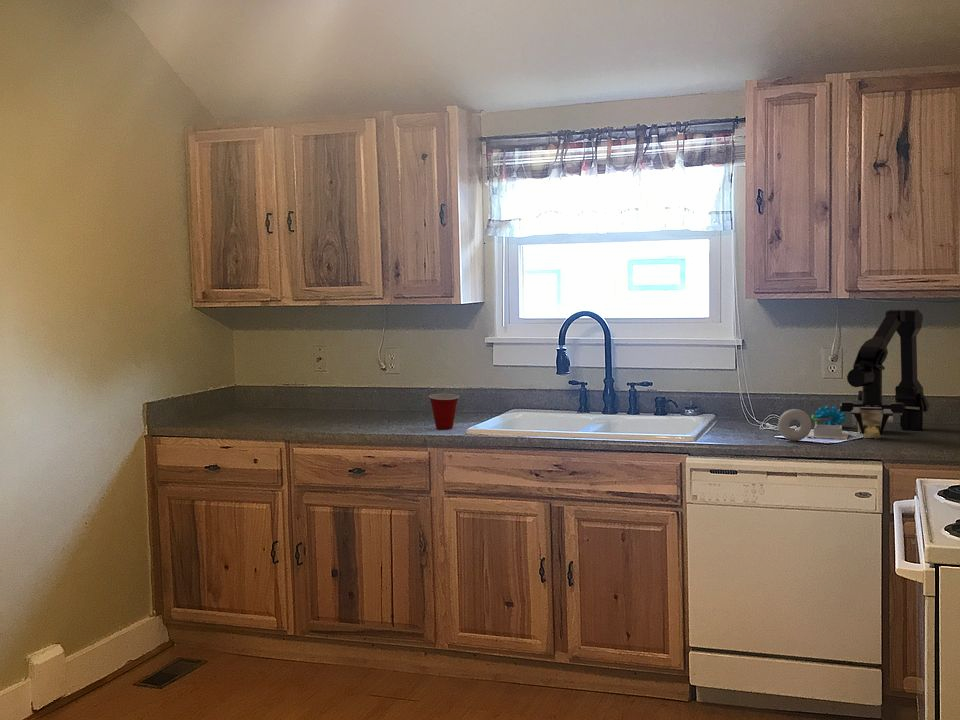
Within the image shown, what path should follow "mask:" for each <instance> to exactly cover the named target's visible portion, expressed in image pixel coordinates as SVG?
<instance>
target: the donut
mask: <svg viewBox="0 0 960 720" xmlns="http://www.w3.org/2000/svg"><path fill="white" fill-rule="evenodd" d="M794 420H795V421H797V422H798V423H800V424H799V428H798V429H792V428H791V426H790V423H791V422H792V421H794ZM812 427H813V426H812V418H810V416H809V414H808V413H807V412H805V411H803V410H801V409H797V408H792V409H788V410H785V411H784V412H783V413H782V414H781V415H780V417H779V418H778V422H777V428H778V431H779V433H780V435H782V437H784V438H785V439H787V440H789V441H792V442H796V441H802V440H803V439H805V438H807V435H808V434H809V433H810V431H812Z"/></svg>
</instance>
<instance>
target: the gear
mask: <svg viewBox="0 0 960 720" xmlns="http://www.w3.org/2000/svg"><path fill="white" fill-rule="evenodd" d="M846 416H847V414H846V413H845V412H842V411H840V408H839V409H838V411H837V406H832V407H831V409H830V406H829V405H826V406H825V407H824V408H823V407H819V408H818V410H815V414H811V420H813V422H814V426H815V425H818V423H820V424H822V423H824V424H823V425H841V424H842V422H845V421H846Z"/></svg>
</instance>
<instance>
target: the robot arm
mask: <svg viewBox="0 0 960 720" xmlns="http://www.w3.org/2000/svg"><path fill="white" fill-rule="evenodd" d="M884 315H885V316H884V318H883V319H882V322H881V323H880V324H879V327H878V328H877V330H876V332H875V333H874V335H873V336H872V338H869V339H868V340H866V341H864V343H863V344H862V345H861V346H860V348H859V350H858V352H857V355H856V357H855V360H854V362H853V365H852V367H853V368H852V369H851V370H849V372H848V373H847V376H846V380H847V383H848V384H849V385H850V386H851V387H853V388H861V387H862V390H858V391H857V397H858V398H857V401H858V402H862V403H855V402H854V401H852V400H842V401H841V402H840V405H839V409H840V411H842V413H845V412H847V413H849V412H850V415H855V417H856V419H857V421H858V424H859V427H860V430H861V433H860V434H861V435H863V422H862V413H861V410H881V411H883V412H882V415H883V416H882V422H881V429H880V436H882V434H883V431H884V429H885V426H886V424H887V423H888V422H887V420H888V418H889V416H893V417H894V414H899V416H900V417H899V420H900V421H899V426H900V428H901V430H904V431H905V430H908V431H909V430H910V431H911V430H912V431H924V427H923V426H924V425H923V424H924V413H926V412H928V411H929V408H930V407H929V406H930V403H929V402H928V400H927V398H926V395H925V394H924V387H923V386H922V384H921V383H920V381H919V380H918V353H917V352H918V349H917V344H918V343H917V335H918V334H919V332H920V331H921V330H922V328H923V326H922V325H923V324H922V323H923V320H924V317H923V313H921V311H920V310H919V309H916V308H915V309H913V308H912V309H905V308H904V309H888V310H886V312H885V314H884ZM895 334H897V335H899V337H900V339H899V340H900V345H899V346H900V376H901V379H900V382H898V385H896V386H895V387H894V390H895V395H894V401H892V402H890V404H884V403H883V371H884V370H885V369H886V368H885V366H884V365H883V363H884V362H885V361H886V359H887V357H888V353H889V352H888V351H889V350H888V345H889V343H890V342H891V340H892V339H893V337H894V335H895ZM858 424H857V425H858Z"/></svg>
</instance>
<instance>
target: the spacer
mask: <svg viewBox="0 0 960 720" xmlns="http://www.w3.org/2000/svg"><path fill="white" fill-rule="evenodd" d="M880 426H881V425H877V424H864V425H863V434H862V436H863V437H865V438H864V439H866V438H880V439H881V435H880ZM863 437H862V438H863Z"/></svg>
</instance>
